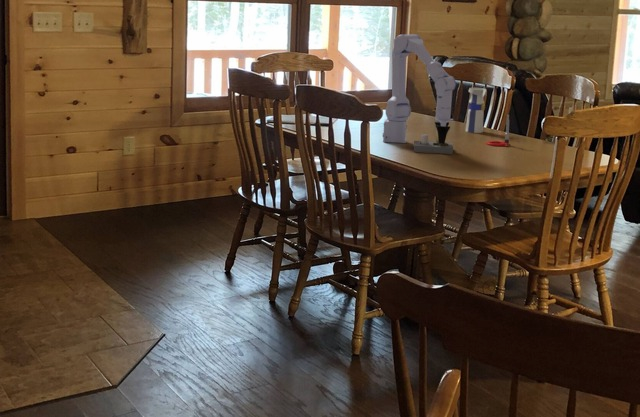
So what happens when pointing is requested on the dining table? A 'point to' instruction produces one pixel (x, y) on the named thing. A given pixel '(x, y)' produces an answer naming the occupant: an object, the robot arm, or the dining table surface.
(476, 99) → the water bottle
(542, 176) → the dining table surface
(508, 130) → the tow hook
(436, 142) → the cylinder
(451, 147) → the grey holder block
